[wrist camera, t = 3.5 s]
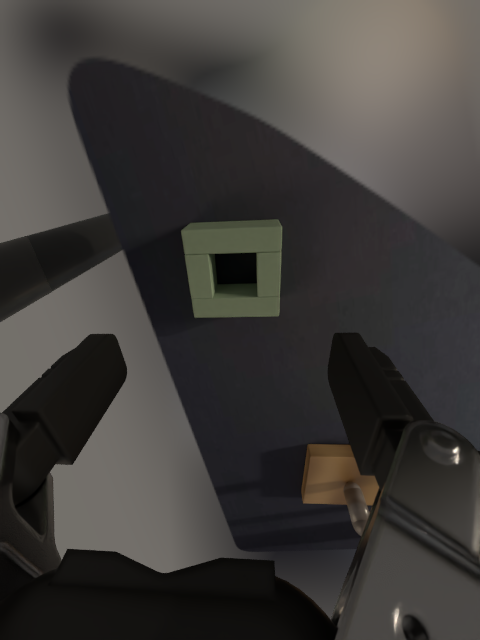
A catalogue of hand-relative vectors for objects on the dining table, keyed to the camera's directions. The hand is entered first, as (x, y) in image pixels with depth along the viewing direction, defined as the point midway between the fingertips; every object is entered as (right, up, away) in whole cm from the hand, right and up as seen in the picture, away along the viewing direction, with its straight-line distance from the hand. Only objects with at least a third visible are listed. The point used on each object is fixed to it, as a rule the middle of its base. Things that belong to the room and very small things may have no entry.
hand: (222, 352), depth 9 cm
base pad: (+13, -17, +21) cm, 30 cm away
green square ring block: (0, +5, +9) cm, 11 cm away
